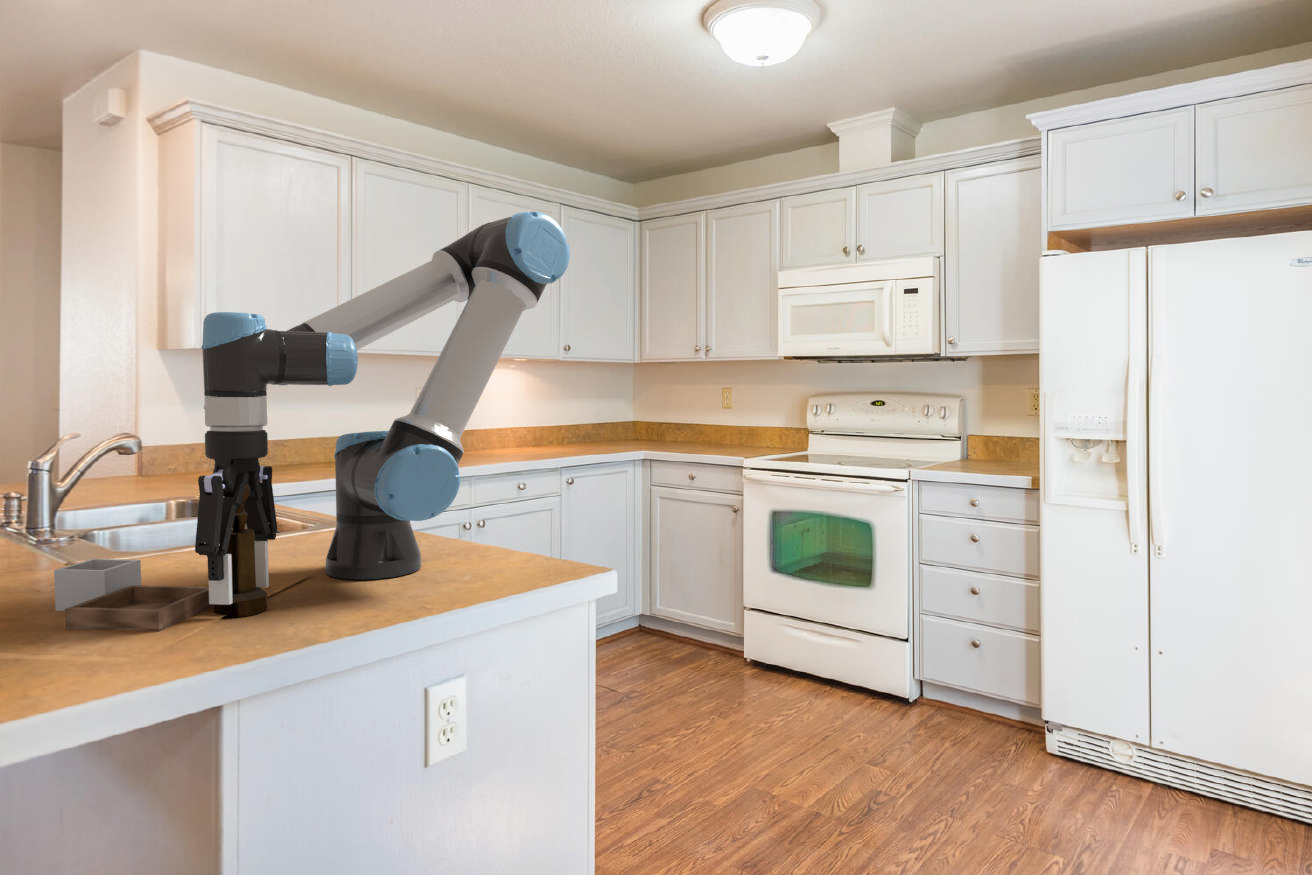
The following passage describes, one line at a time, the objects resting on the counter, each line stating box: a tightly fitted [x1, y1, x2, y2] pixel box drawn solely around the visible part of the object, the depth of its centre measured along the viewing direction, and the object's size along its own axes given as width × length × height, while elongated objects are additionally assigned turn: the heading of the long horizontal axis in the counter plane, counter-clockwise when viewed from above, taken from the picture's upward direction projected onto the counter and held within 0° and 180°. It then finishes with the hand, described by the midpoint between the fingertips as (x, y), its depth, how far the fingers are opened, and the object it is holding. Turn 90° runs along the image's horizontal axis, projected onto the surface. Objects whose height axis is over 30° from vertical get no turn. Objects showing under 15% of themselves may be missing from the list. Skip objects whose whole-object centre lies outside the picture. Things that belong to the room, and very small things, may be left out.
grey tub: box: [53, 558, 142, 612], centre depth 112 cm, size 7×7×6 cm
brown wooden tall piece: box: [212, 484, 268, 619], centre depth 111 cm, size 7×6×18 cm
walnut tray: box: [64, 584, 213, 633], centre depth 107 cm, size 12×12×3 cm
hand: (240, 594), depth 111 cm, fingers open, 8 cm apart
